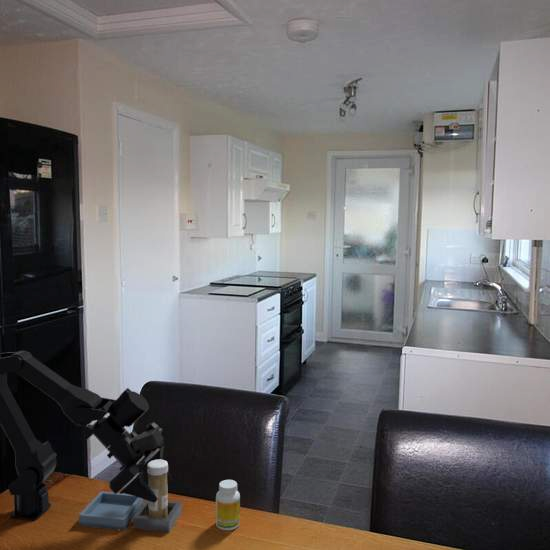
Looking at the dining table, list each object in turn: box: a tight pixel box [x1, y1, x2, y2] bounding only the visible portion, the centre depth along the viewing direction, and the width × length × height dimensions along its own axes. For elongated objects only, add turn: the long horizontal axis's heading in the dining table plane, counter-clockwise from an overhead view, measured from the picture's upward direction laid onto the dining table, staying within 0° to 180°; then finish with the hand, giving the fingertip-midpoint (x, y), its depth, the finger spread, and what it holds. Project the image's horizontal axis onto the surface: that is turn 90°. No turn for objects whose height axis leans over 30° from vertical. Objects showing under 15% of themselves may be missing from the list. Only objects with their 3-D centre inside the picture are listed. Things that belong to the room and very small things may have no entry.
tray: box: [78, 490, 144, 531], centre depth 123 cm, size 11×11×2 cm
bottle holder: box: [132, 499, 183, 533], centre depth 121 cm, size 8×8×2 cm
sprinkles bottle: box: [146, 459, 169, 518], centre depth 121 cm, size 5×5×13 cm
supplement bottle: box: [215, 479, 241, 531], centre depth 120 cm, size 5×5×10 cm
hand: (163, 490), depth 121 cm, fingers open, 9 cm apart
